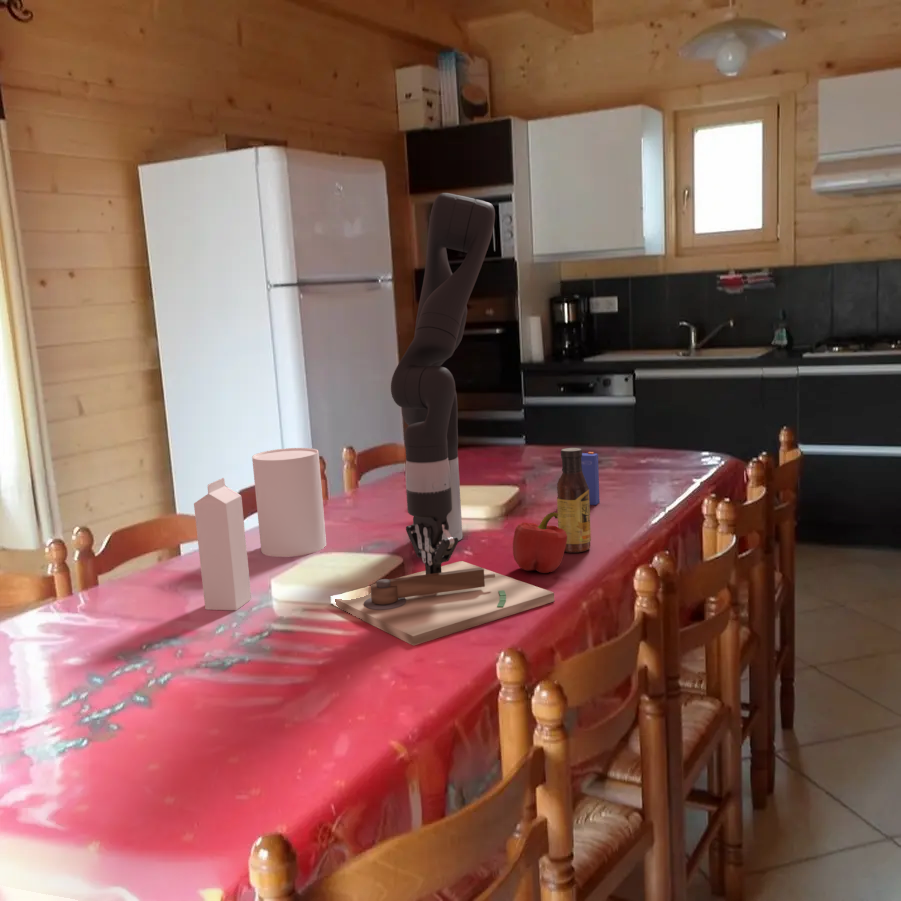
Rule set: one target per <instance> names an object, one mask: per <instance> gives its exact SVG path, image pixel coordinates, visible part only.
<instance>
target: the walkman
mask: <svg viewBox="0 0 901 901" xmlns="http://www.w3.org/2000/svg"><path fill="white" fill-rule="evenodd" d="M581 464H582V472H583V475H584V477H585V480H586V483H587V485H588V488H589V502H590V506H597V505H598V504H599V503H600V502H601V501H600V500H601V499H600V474H599V473H600V472H599V471H600V470H599V453H595V452H594V451H588V452H586V453H585V452H582V457H581Z"/></svg>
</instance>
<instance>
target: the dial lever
mask: <svg viewBox="0 0 901 901" xmlns="http://www.w3.org/2000/svg"><path fill="white" fill-rule="evenodd" d="M478 567H479V568H472V569H464V570H456V571H449V572H441V573H434V574H426V575H418V576H411V577H403V576H402V577H403V578H399V577H396V578H389V579H388V578H383V579H382V578H381V579H378V580H376V582H375V583H373V584H370V585H371V600H372V602H373V603H375V604H390V603H394V602H396V601H397V600H398V598H404V597H412V596H419V595H426V594H434V593H441V592H449V591H456V590H463V589H471V588H478V587H485V581H484V579H488V578H495V574H494V573H491V574H484V569H485V568H484V567H480V566H478ZM483 568H484V569H483Z"/></svg>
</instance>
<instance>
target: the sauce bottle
mask: <svg viewBox="0 0 901 901" xmlns="http://www.w3.org/2000/svg"><path fill="white" fill-rule="evenodd" d="M582 453H583V450H582V448H579V447H568V448H562V449H561V450H560V457H561V463H562V466H561V471H562V474H561V475H560V478H558V481H557V484H556V485H557V486H556V490H557V497H556V501H557V502H556V503H557V504H556V505H557V506H556V507H557V514H558V518H557V527H558V528H562V529H563V530H564V531H565V532H566V534H567V542H566V547H565V551H564V553H578V554H579V553H582V552H587V551H588V550H590V548H591V540H592V539H591V538H592V534H591V532H592V531H591V508H590V507H591V505H590V502H589V488H588V485H587V483H586V480H585V477H584V475H583V472H582V464H581V457H582Z"/></svg>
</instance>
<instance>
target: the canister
mask: <svg viewBox="0 0 901 901" xmlns="http://www.w3.org/2000/svg"><path fill="white" fill-rule="evenodd" d="M251 461H252V470H253V480H254V490H255V491H254V492H255V500H256V502H255V503H256V511H257V520H258V522H257V523H258V530H259V532H258V533H259V541H260V542H259V544H260V551H261V554H263V555H265V556H268V557H275V558H276V557H277V558H288V557H289V558H291V557H301V556H305V555H311V554H314V553H317V552H320V551H321V549H322V550H323V549H325V548H326V547H327V538H326V537H327V536H326V524H325V512H324V501H323V500H324V499H323V490H322V488H323V487H322V476H321V466H320V454H319V450H318V449H317V448H313V447H311V448H310V447H291V448H290V447H288V448H278V449H272V450H270V449H269V450H265V451H262V452H261V451H260V452H258V453H255V454H253V455H252V457H251ZM325 546H326V547H325ZM324 547H325V548H324Z"/></svg>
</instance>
